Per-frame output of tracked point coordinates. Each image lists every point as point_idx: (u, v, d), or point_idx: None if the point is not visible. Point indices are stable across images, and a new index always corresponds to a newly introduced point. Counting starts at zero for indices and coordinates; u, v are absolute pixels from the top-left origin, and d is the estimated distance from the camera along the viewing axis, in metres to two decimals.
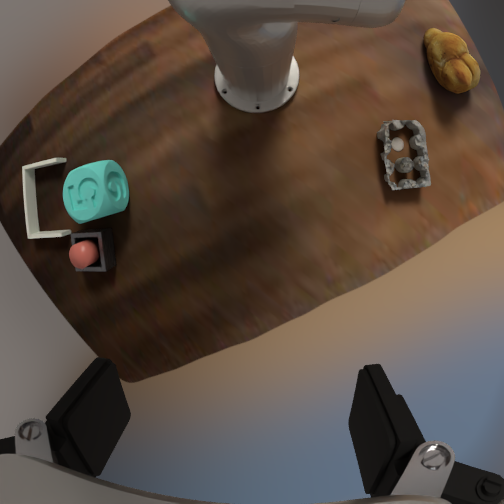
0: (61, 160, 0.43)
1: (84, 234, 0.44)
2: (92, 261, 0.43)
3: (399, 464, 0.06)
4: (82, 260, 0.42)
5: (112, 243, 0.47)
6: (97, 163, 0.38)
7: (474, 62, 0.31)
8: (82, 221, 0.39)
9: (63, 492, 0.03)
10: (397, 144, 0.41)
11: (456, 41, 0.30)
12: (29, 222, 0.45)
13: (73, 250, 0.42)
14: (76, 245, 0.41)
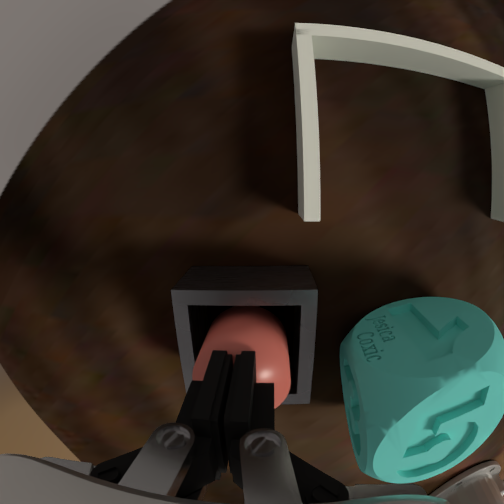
0: None
1: (309, 350, 0.13)
2: None
3: (236, 444, 0.07)
4: None
5: None
6: None
7: None
8: (372, 441, 0.10)
9: (63, 492, 0.03)
10: None
11: None
12: (359, 42, 0.11)
13: (264, 365, 0.11)
14: (286, 379, 0.11)
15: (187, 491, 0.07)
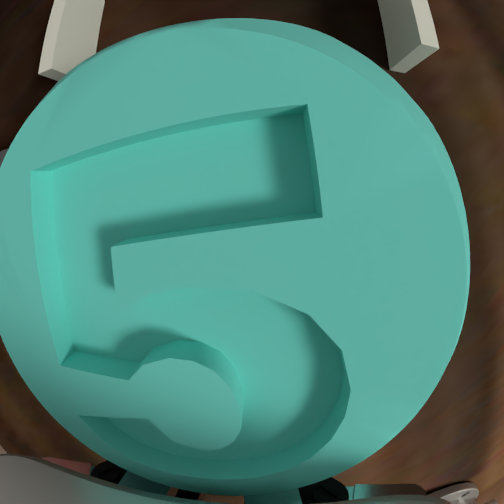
0: (408, 61, 0.08)
1: None
2: None
3: None
4: None
5: None
6: None
7: None
8: None
9: (63, 492, 0.03)
10: None
11: None
12: None
13: None
14: None
15: (187, 491, 0.07)
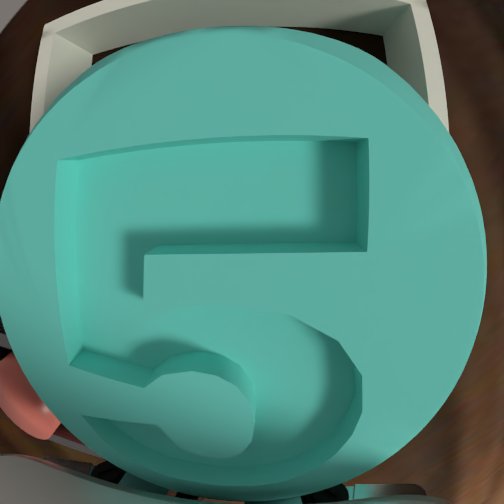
0: None
1: None
2: None
3: None
4: (14, 412, 0.09)
5: None
6: None
7: None
8: None
9: (63, 492, 0.03)
10: None
11: None
12: (111, 16, 0.07)
13: (23, 396, 0.09)
14: (42, 413, 0.09)
15: None
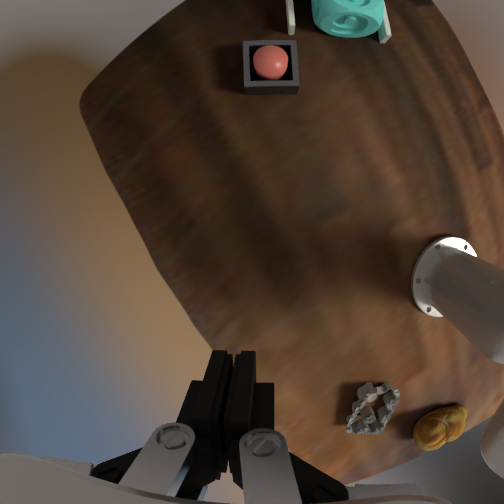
0: (384, 39, 0.31)
1: (295, 60, 0.30)
2: (260, 75, 0.32)
3: (236, 444, 0.07)
4: (265, 64, 0.30)
5: (276, 93, 0.35)
6: (382, 14, 0.25)
7: (438, 447, 0.41)
8: None
9: (63, 492, 0.03)
10: (371, 397, 0.45)
11: (457, 434, 0.39)
12: None
13: (278, 52, 0.29)
14: (286, 57, 0.30)
15: (187, 491, 0.07)
